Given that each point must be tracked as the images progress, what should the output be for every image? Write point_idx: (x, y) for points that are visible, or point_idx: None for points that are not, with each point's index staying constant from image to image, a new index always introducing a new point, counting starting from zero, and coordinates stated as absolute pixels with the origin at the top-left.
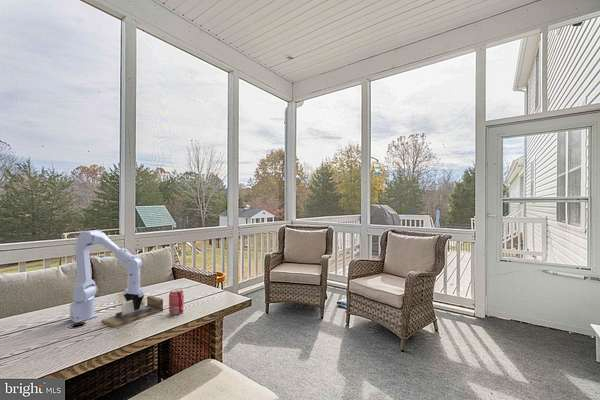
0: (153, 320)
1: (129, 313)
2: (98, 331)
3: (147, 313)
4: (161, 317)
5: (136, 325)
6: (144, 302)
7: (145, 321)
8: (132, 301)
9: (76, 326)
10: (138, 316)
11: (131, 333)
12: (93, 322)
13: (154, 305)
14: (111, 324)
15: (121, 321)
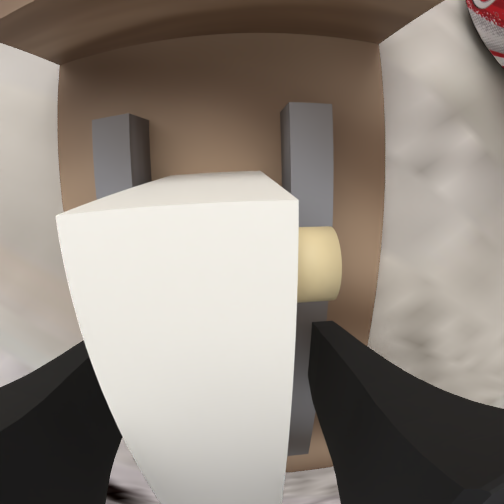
0: (495, 232)
1: (295, 405)
2: (297, 491)
3: (364, 195)
4: (500, 151)
5: (449, 357)
6: (334, 238)
7: (458, 285)
8: (261, 493)
9: (125, 500)
10: (353, 308)
11: (487, 396)
12: (121, 469)
13: (253, 15)
14: (299, 470)
15: (315, 431)
